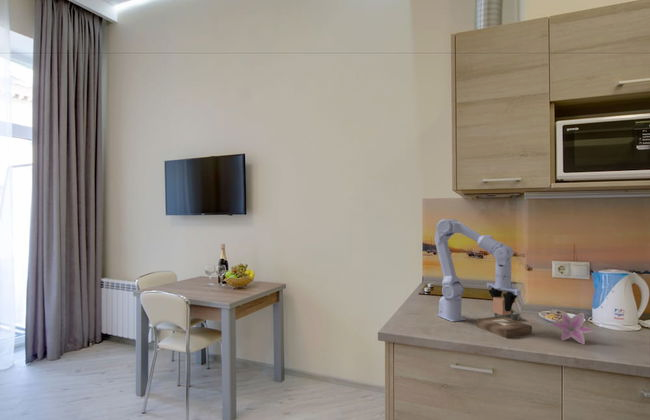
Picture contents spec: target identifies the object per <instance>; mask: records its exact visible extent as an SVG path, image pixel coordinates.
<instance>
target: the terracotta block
mask: <svg viewBox="0 0 650 420" xmlns="http://www.w3.org/2000/svg"><path fill="white" fill-rule="evenodd" d="M493 312H494V313H497V314H500V315H509V314H511V311H506V310H505V300H504V296H501V297H493V299H492V313H493Z"/></svg>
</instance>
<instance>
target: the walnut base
mask: <svg viewBox="0 0 650 420" xmlns="http://www.w3.org/2000/svg"><path fill="white" fill-rule="evenodd" d="M476 326H477V327H478V328H480V329H483V330H484V331H488V332H490V333H492V334H495V335H497V336H500V337H503V338H505V339H508V338H513V337H514V336H515V337H520V335H521V336H527V335H531V333H532V334H533V326H532V325H530V324H527V323H524V322H521V321H519V320H515V319H510V318H507V317H504V316H497V317H493V316H491V317H485V318H477V319H476ZM515 337H514V338H515Z"/></svg>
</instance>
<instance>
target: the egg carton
mask: <svg viewBox="0 0 650 420" xmlns="http://www.w3.org/2000/svg"><path fill="white" fill-rule="evenodd" d="M492 313H493V316H492V317H497V316H504V317H507V318H510V319H513V320H516V321H519V320H520V317H521V315H522V313H520V312H518V311H517V312H516V310H514V309H513V307H512V308H511V314H509V315H500V314H497V313H494V312H493V311H492Z"/></svg>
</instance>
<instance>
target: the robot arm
mask: <svg viewBox="0 0 650 420" xmlns="http://www.w3.org/2000/svg"><path fill="white" fill-rule="evenodd" d="M435 229H436V230H435V234H434V243H435V247H436V251H437V256H438V260H439V263H440V267H441V272H442V282H441V285H442V289H441V293H442V296H441V297H440V299H439V302H438V314H436V316H438V317H439V318H441V319H444V320H447V321H449V322H459V321H460V322H461V321H466V320H467V318H465V317H462V295H464V293H465V287H464V285H463V284H462V282H461V279H460V278H459V277H458V276H457V274H456V270H455V266H454V262H453V258H452V257H453V256H452V254H451V249H450V246H449V240H450V239H451V237H452V236H453V235H454V234H462V235H464V236H466V237H467V238H469V239H471V240H473V241H475V242H477V245H478V247H479V248H481V249H483V250H484V251H486V252H488V253H489V254H491V255H492V256H493V258H495V268H494V270H495V272H494V273H495V274H494V275H495V277H494V278H495V279H494V281H495V282H493V283H492V282H487V283H486V289H487V288H488V289H489V290H488V292H489V294H490V296H491V299H492V300H493V297H504V300H505V310H506V311H511V308H512V309H513V304H514V302H515V300H516V299H517V297H518V296H521V295H522V294H521V293H522V291H521V290H520V289H518V288H515V287H513V286H512V257H513V255H514V250H513V248H512V247H511V246H510V245H508V244H504V242H502V241H497V240H496V239H495V238H493V236H492V235H487V234H484V235H482V234H480V233H479V232H477V231H475V230H474V229H472V228H471V227H469V226H468V225H466V224H464V223H463V222H461V221H458V220H457V219H454V218H450V219H444V218H443V219H440V220H439V221H438V223H437V224H435ZM503 292H504V293H503Z"/></svg>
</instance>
